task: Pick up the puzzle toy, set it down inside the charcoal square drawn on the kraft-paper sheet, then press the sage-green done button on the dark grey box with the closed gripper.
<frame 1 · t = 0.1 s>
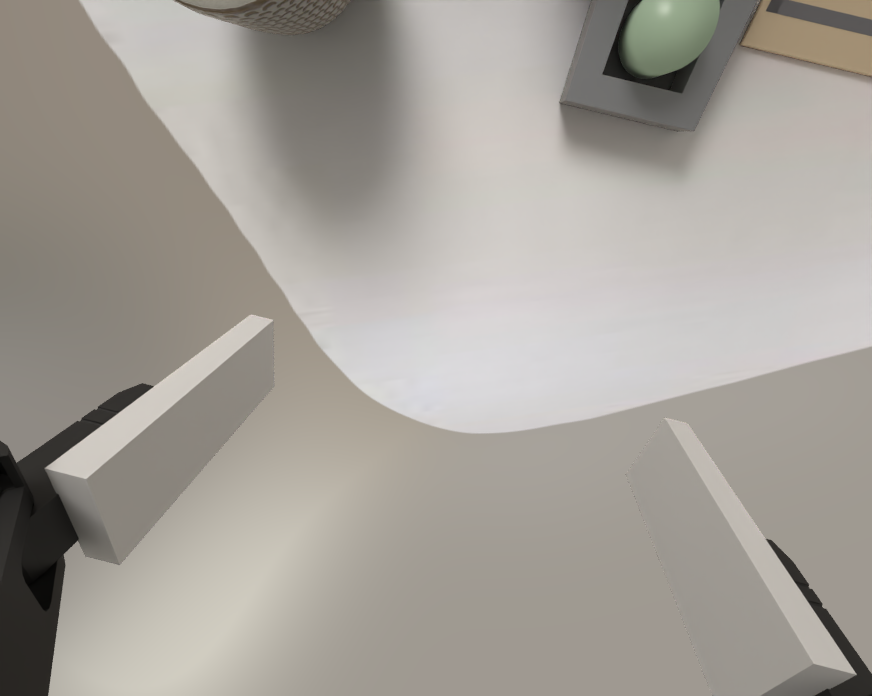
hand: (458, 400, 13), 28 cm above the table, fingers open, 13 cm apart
button: (664, 31, 26), point 3 cm above the table, slide at 0.0 cm
button box: (647, 41, 29), on the table
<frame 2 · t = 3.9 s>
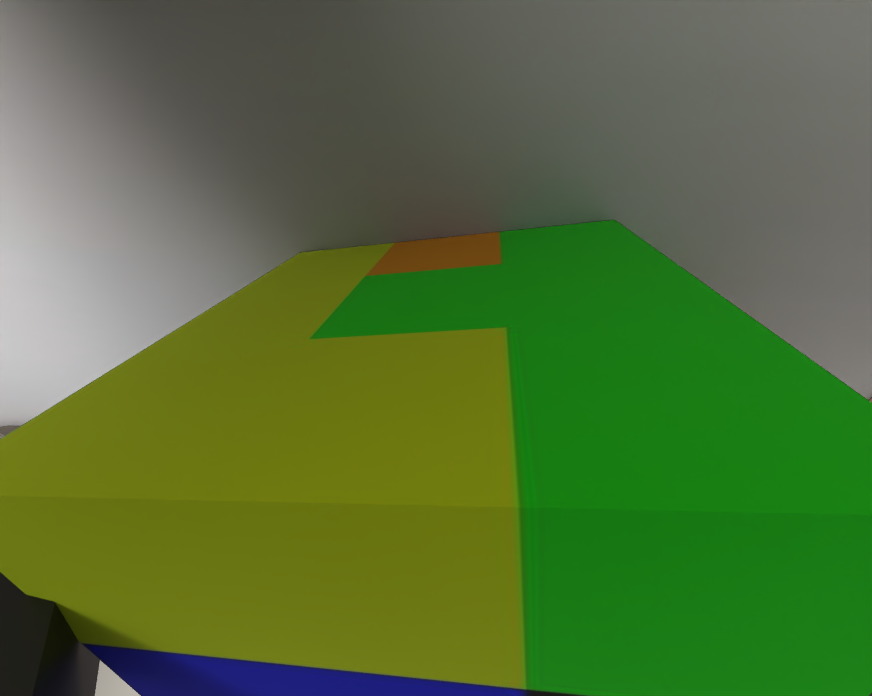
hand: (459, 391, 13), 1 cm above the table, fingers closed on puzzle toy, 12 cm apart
puzzle toy: (461, 367, 15), on the table, touching gripper
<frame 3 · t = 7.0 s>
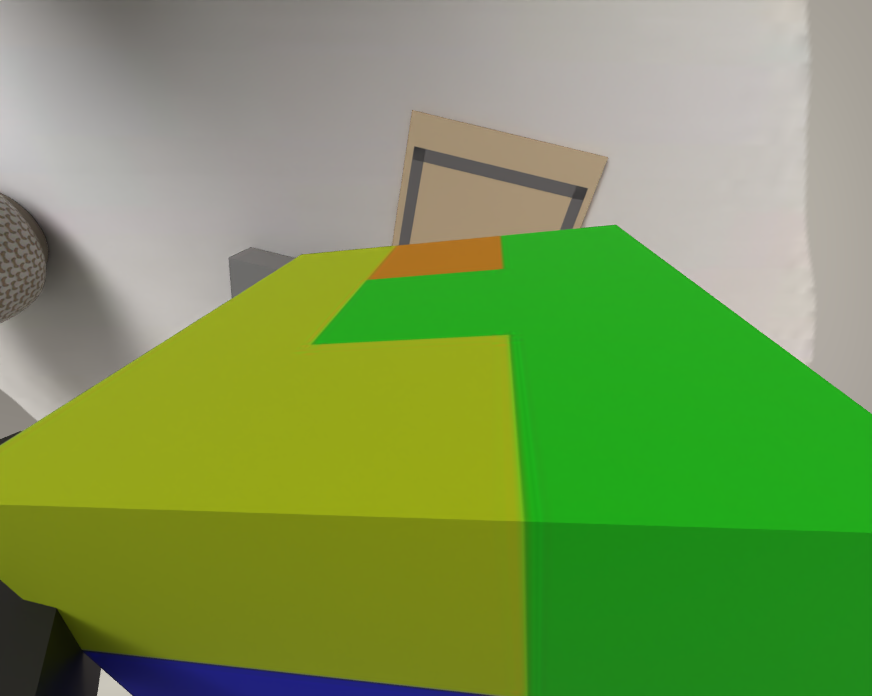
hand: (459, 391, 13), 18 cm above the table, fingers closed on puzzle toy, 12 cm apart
puzzle toy: (462, 370, 15), point 17 cm above the table, touching gripper
button box: (308, 316, 33), on the table
sheet: (478, 252, 29), on the table
planter: (12, 231, 33), on the table
when the fingers open (3 cm above the table, at t = 10.2 s): puzzle toy drops 2 cm, resting on sheet.
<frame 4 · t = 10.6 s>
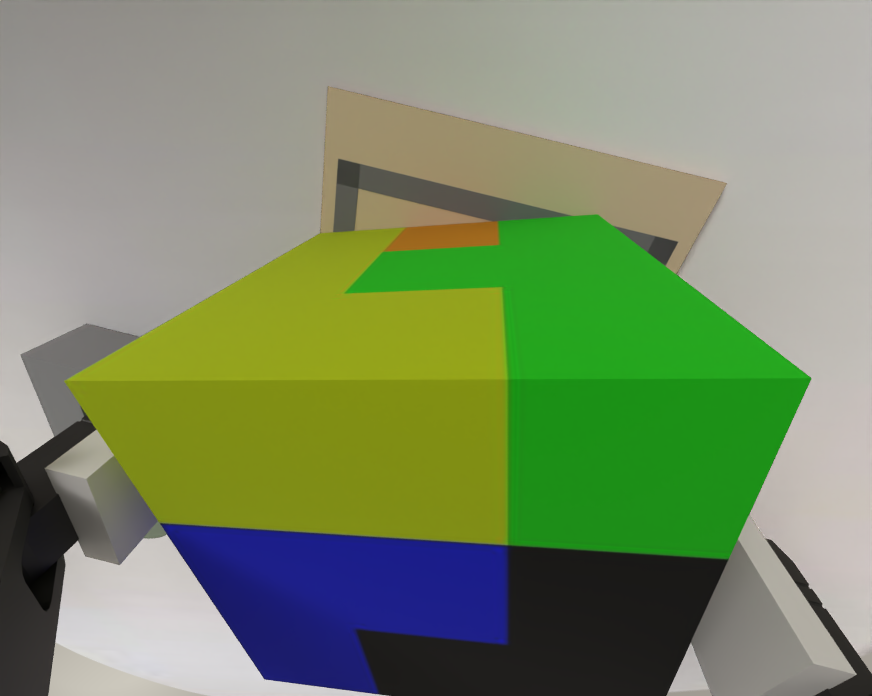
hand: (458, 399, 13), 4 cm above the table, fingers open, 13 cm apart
puzzle toy: (459, 343, 16), resting on sheet
button: (149, 471, 18), point 3 cm above the table, slide at 0.0 cm
button box: (197, 424, 21), on the table
sheet: (465, 343, 16), on the table
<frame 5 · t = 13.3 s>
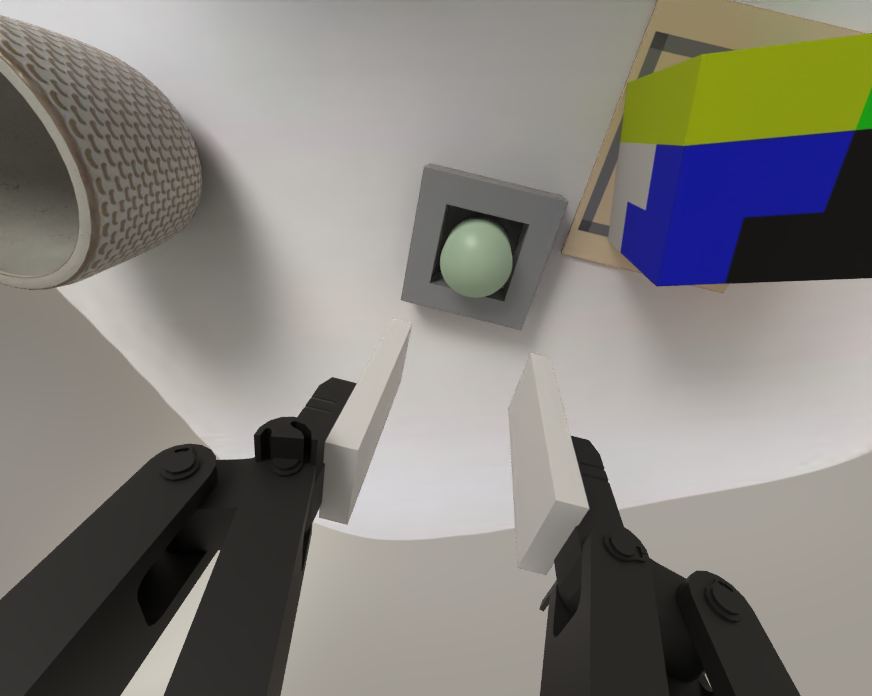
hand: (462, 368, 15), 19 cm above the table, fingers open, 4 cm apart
puzzle toy: (693, 162, 26), resting on sheet
button: (476, 256, 28), point 3 cm above the table, slide at 0.0 cm
button box: (478, 245, 31), on the table
sheet: (696, 162, 26), on the table
planter: (156, 152, 31), on the table
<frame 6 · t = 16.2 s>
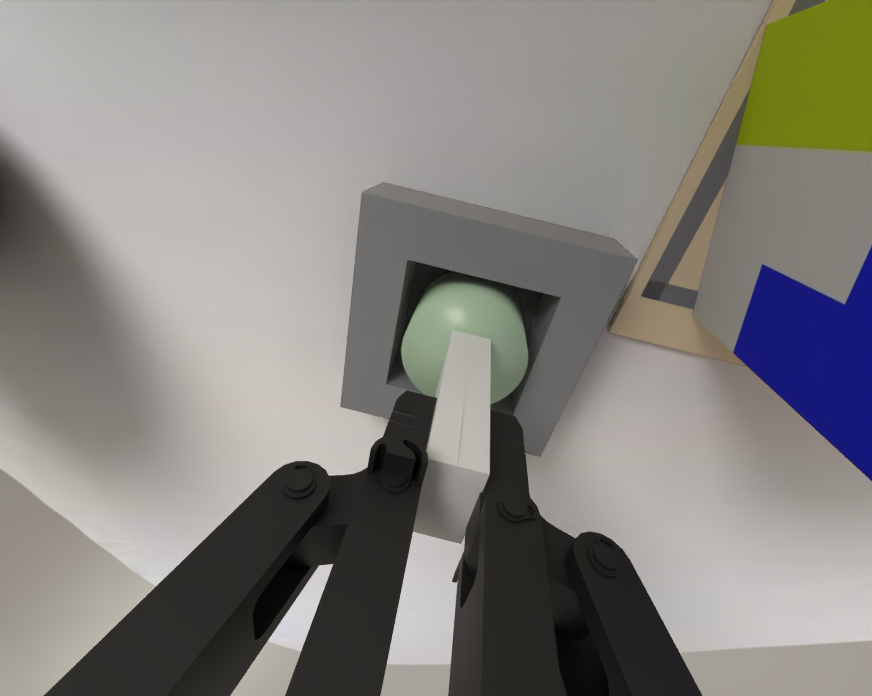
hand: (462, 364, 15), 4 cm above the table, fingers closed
button: (466, 337, 17), point 2 cm above the table, slide at 1.1 cm
button box: (468, 315, 19), on the table
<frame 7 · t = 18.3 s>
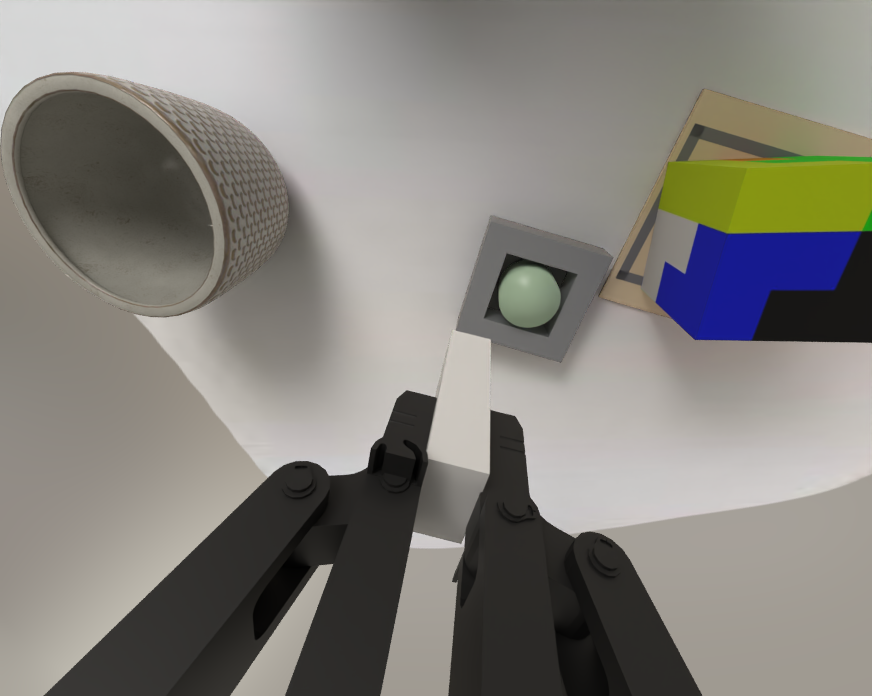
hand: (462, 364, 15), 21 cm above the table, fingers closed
puzzle toy: (719, 228, 30), resting on sheet
button: (527, 293, 33), point 2 cm above the table, slide at 1.4 cm
button box: (525, 286, 35), on the table
sheet: (721, 228, 31), on the table
planter: (241, 190, 34), on the table
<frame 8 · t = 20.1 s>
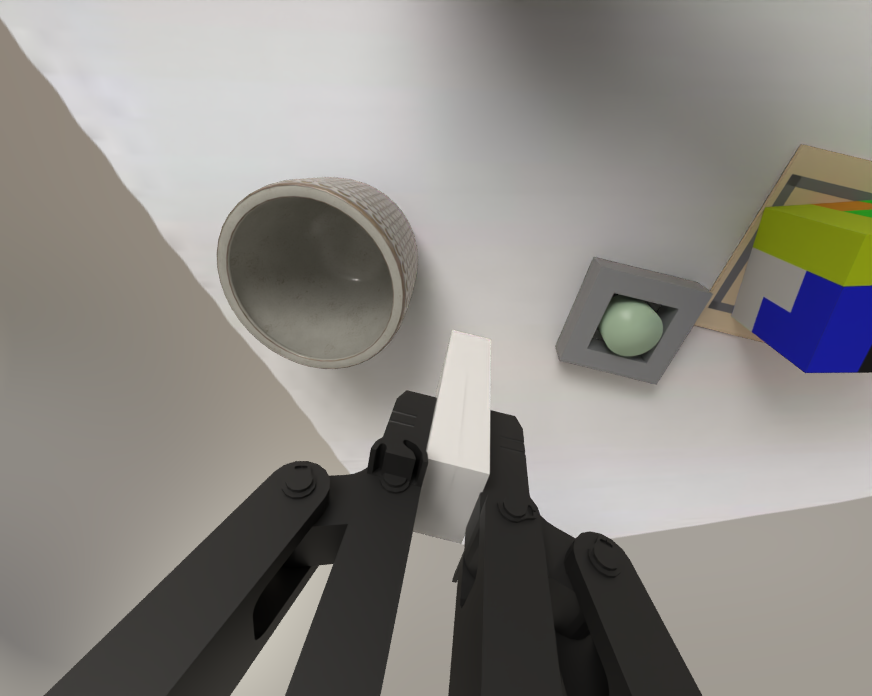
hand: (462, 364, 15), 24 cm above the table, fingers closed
puzzle toy: (808, 262, 34), resting on sheet
button: (627, 324, 37), point 2 cm above the table, slide at 1.4 cm
button box: (621, 316, 38), on the table
sheet: (810, 262, 34), on the table
planter: (363, 242, 38), on the table
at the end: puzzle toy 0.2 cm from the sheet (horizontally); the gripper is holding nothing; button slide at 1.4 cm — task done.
